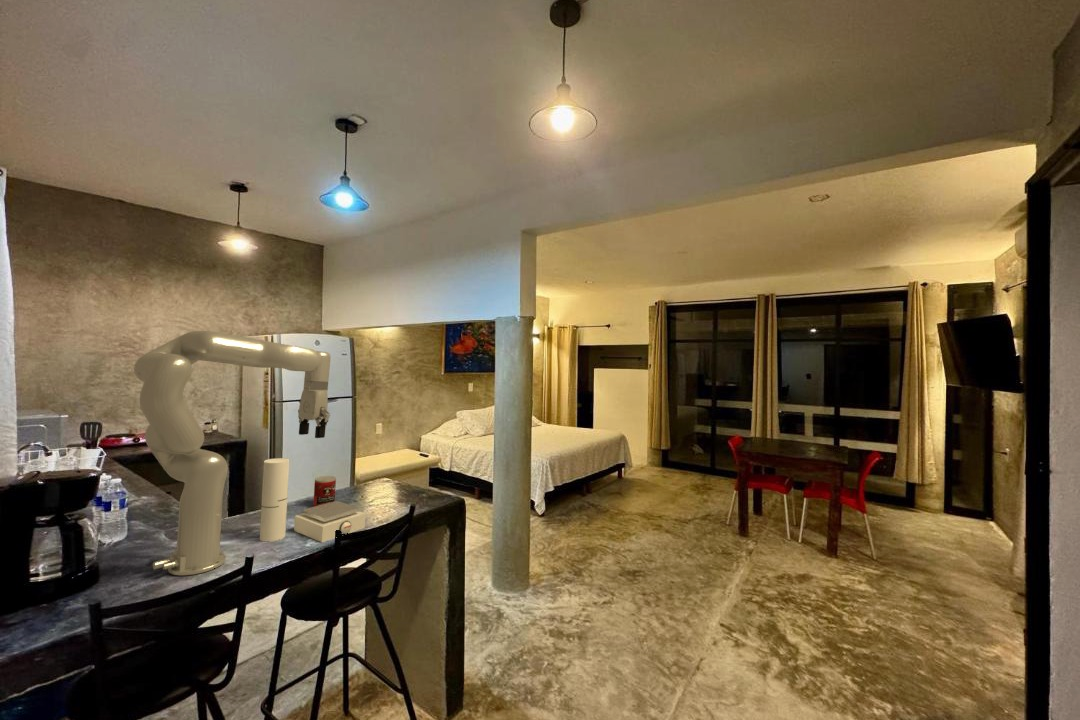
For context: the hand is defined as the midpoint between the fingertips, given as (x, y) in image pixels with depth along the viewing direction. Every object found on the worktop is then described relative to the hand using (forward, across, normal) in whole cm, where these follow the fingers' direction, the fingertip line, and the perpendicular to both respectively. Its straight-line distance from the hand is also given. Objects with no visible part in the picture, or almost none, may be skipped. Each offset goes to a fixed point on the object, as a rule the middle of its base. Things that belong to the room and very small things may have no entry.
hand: (311, 436), depth 149 cm
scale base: (+32, +6, +6) cm, 33 cm away
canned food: (+32, -18, +19) cm, 41 cm away
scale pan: (+26, +6, +6) cm, 27 cm away
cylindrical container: (+33, -2, -9) cm, 34 cm away
